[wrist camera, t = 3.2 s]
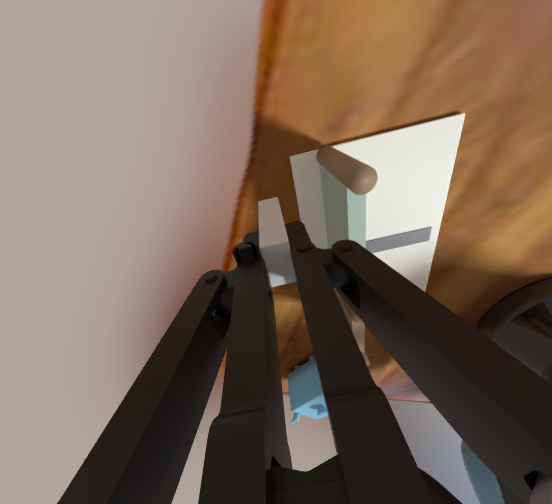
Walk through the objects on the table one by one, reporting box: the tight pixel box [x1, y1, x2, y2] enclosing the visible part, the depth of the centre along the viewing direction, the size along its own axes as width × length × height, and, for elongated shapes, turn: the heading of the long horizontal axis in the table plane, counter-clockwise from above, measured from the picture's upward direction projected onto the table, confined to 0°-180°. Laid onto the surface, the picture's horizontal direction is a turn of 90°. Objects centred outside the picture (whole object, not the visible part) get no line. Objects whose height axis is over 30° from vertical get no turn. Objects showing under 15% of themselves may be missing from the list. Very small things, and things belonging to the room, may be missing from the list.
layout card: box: [289, 113, 465, 292], centre depth 25 cm, size 21×15×1 cm
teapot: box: [287, 355, 328, 425], centre depth 36 cm, size 12×6×8 cm, turn 139°
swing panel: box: [316, 145, 378, 249], centre depth 18 cm, size 10×2×8 cm, turn 12°
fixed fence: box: [328, 248, 370, 367], centre depth 24 cm, size 11×2×9 cm, turn 12°
